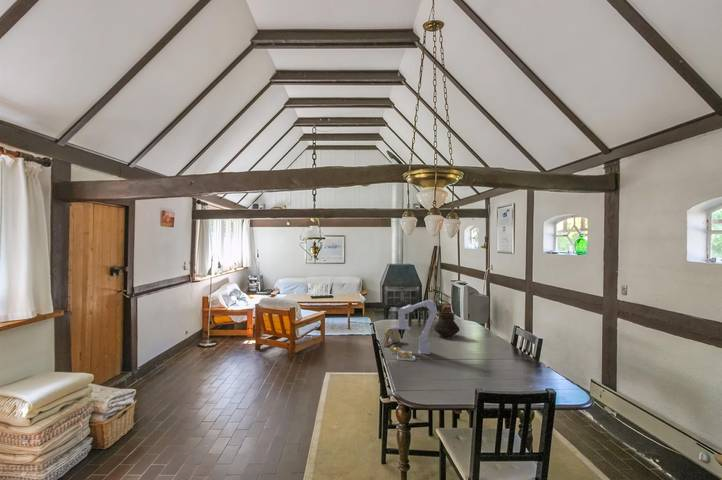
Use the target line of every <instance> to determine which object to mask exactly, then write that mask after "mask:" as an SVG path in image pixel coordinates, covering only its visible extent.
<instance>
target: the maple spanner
mask: <svg viewBox="0 0 722 480" xmlns="http://www.w3.org/2000/svg"><path fill="white" fill-rule="evenodd" d="M397 355H398V358H401V357H403V358H404V355H406V358H410V355H411V358H412V356H413V352H412V351H408V350H407V351H405V350H402V351H398V354H397Z"/></svg>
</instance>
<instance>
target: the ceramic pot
mask: <svg viewBox="0 0 722 480" xmlns="http://www.w3.org/2000/svg"><path fill="white" fill-rule="evenodd" d="M438 314H439V317H440V318H439V320H438V321H437V322H436V324H435V325H434V327H433V330H434V331H435V333H437V334H439V335H440V336H441V337H443V338H452V337H454V336H455V335H456V334H458V333H459V332H460V331H461V330H460V327H459V325H458V324H457V323H456V321H455V319H454V318H455V316H456V312H451V311H440V312H438Z"/></svg>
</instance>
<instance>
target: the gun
mask: <svg viewBox="0 0 722 480" xmlns="http://www.w3.org/2000/svg"><path fill="white" fill-rule="evenodd" d="M383 334H384V336H383V341H382V343H383V347H386V348H387V347H388V346H391V345H390V344H393V343H394V344H396V343H399V342H401V336H400V333H399V330H393V327H388V328H385V330H384V331H383ZM389 339H390V340H391V341H389Z"/></svg>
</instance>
